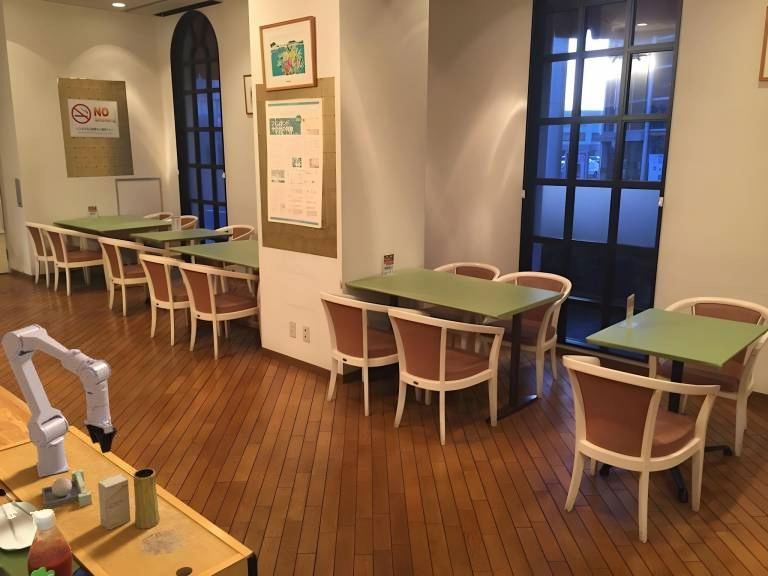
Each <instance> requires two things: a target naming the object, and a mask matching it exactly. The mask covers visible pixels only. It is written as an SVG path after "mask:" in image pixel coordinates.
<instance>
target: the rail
mask: <svg viewBox="0 0 768 576" xmlns="http://www.w3.org/2000/svg"><path fill="white" fill-rule="evenodd" d="M70 474H71V481H75V480H77V483H78V486H79V489H80V492H81V494H78V497H79V501H78V506H79V507H80V508H81V507H84V506H89V505H92V504H93V502H92V493H91V490H90V491H87V489H86V486H85V483H84V481H85V475H84V469H83V468H81V469H76V470H72V471H71V473H70Z"/></svg>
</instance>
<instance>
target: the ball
mask: <svg viewBox="0 0 768 576" xmlns="http://www.w3.org/2000/svg"><path fill="white" fill-rule="evenodd" d="M71 481H72V480H70V479H68V478H67V477H60V478H57V479H56V480H55V481H53V483H52V485H51V486H52V492H53V494H54V495H56V496H59V497H62V496H65V495H67V494H68V493H69V492H70V491H71V488H72V484H71Z"/></svg>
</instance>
